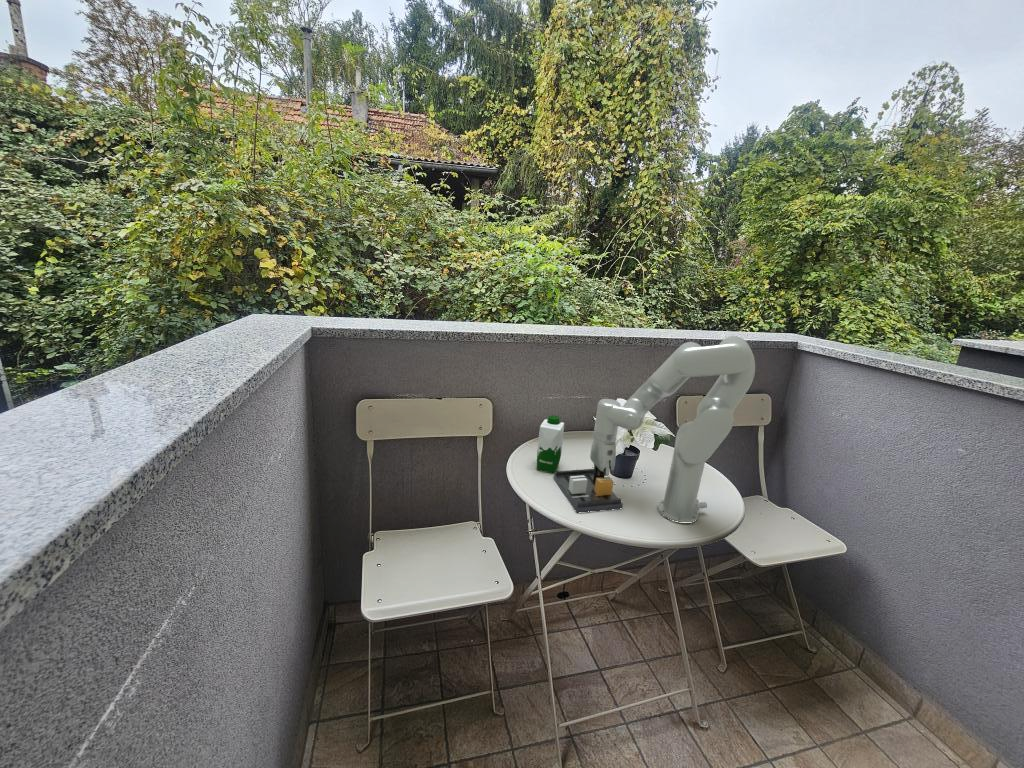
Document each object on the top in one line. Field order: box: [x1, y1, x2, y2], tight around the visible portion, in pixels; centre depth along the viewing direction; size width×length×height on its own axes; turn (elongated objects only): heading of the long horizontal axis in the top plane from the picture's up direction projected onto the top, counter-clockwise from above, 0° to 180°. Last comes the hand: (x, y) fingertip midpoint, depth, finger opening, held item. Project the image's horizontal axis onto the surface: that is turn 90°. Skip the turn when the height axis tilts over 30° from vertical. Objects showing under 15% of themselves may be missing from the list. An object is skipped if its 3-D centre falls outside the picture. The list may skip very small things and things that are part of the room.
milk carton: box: [536, 414, 565, 475], centre depth 166 cm, size 9×9×20 cm
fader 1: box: [569, 475, 587, 494], centre depth 149 cm, size 5×3×5 cm, turn 105°
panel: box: [553, 468, 624, 514], centre depth 153 cm, size 16×22×3 cm
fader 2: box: [594, 476, 614, 496], centre depth 149 cm, size 5×3×5 cm, turn 105°
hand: (598, 483), depth 153 cm, fingers closed
